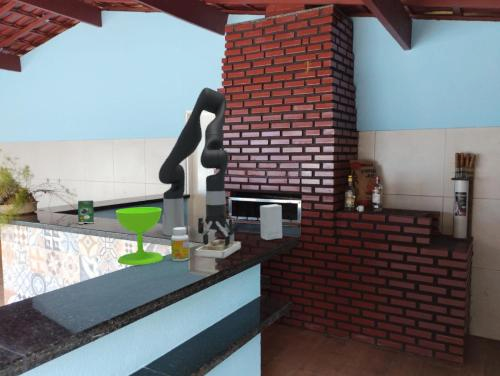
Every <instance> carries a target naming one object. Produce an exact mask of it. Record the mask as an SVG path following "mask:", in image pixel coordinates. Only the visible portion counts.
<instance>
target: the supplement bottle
mask: <svg viewBox="0 0 500 376" xmlns="http://www.w3.org/2000/svg"><path fill="white" fill-rule="evenodd" d="M173 233H174V235H173V236H171V237H170V243H171V244H170V245H171V248H170V249H171V260H172V261H173V262H183V261H188V260H189V259H190V242H189V241H190V238H189V235H188V234H186V233H187V227H185V226H184V227H177V228H173Z"/></svg>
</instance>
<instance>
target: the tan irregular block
mask: <svg viewBox="0 0 500 376" xmlns="http://www.w3.org/2000/svg"><path fill="white" fill-rule="evenodd" d="M214 240H215V241H214ZM214 240H213V239H212V240H211V241H210V242H208V243H209V244H207V245H205V246H204V245H203V246H204V250H214V251H224V250H225V249H227V248H229V247H231V246H232V245H233V240H230V244H229V246H225V239H214Z"/></svg>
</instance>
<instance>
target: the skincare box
mask: <svg viewBox="0 0 500 376" xmlns="http://www.w3.org/2000/svg"><path fill="white" fill-rule="evenodd" d="M282 209H283V208H282V205H281V204H277V203H275V204H267V205H266V204H264V205H260V206H259V217H260V221H259V222H260V238H261V239H263V240H266V241H268V240H269V241H271V240H275V239H276V240H277V239H283V216H282V215H283V214H282V213H283V211H282Z"/></svg>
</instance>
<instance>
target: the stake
mask: <svg viewBox="0 0 500 376" xmlns="http://www.w3.org/2000/svg"><path fill="white" fill-rule="evenodd" d="M227 228H228V230H229V226H228V227H227ZM229 232H230V231H229ZM230 240H233V241H234V242H235V234H233V235H230Z"/></svg>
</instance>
